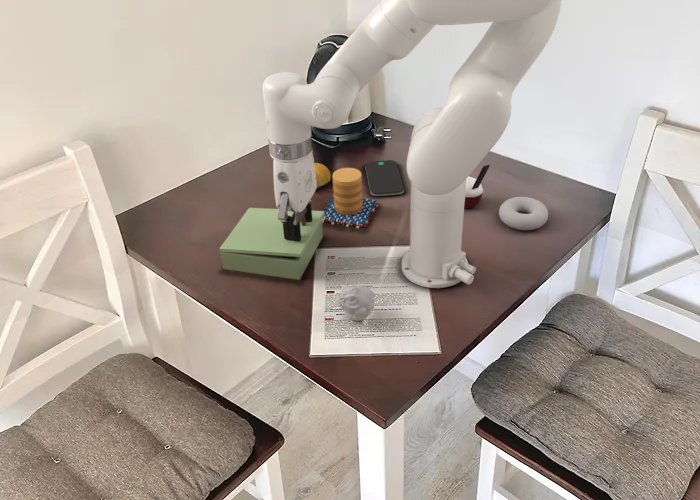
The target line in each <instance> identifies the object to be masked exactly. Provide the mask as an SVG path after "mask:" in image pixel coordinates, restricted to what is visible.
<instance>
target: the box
mask: <svg viewBox="0 0 700 500" xmlns="http://www.w3.org/2000/svg"><path fill="white" fill-rule="evenodd" d="M323 237H324V231H323V223H322V220H321V222H320V224H319V226H318V228H317V229H316V231H315V233H314V235H313V237H312V238H311V240H310V242H309V244H308V246H307V247H306V249H305V251H304V253H303V255H302V256H301V257H293V256H278V255H263V254H248V253H233V252H220V251H219V253H220V257H221V258H220V259H221V262H222V268H223V270H229V271H235V272H243V273H249V274H257V275H263V276H269V277H277V278H284V279H290V280H297V281H300V280H301V279H302V277H303V275H304V273H305V271H306V269H307V267H308V266H309V263H310V261H311V260H312V258H313V256H314V254H315V252H316V250H317V248H318V247H319V244H320V243H321V241H322V239H323Z"/></svg>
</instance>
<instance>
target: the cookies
mask: <svg viewBox="0 0 700 500" xmlns="http://www.w3.org/2000/svg"><path fill="white" fill-rule="evenodd" d="M362 174H363V173H362V172H361V171H360V170H359V169H358V168H354V167H342V168H339V169H337V170H335V171H334V172H332V174H331V175H332V176H331V177H332V189H333V196H334V206H335V210H336V212H338V213H340V214H343V215H353V214H356V213H358V212H360V211H361V210H362V208H363V200H362V198H363V178H362V177H363V176H362Z"/></svg>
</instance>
